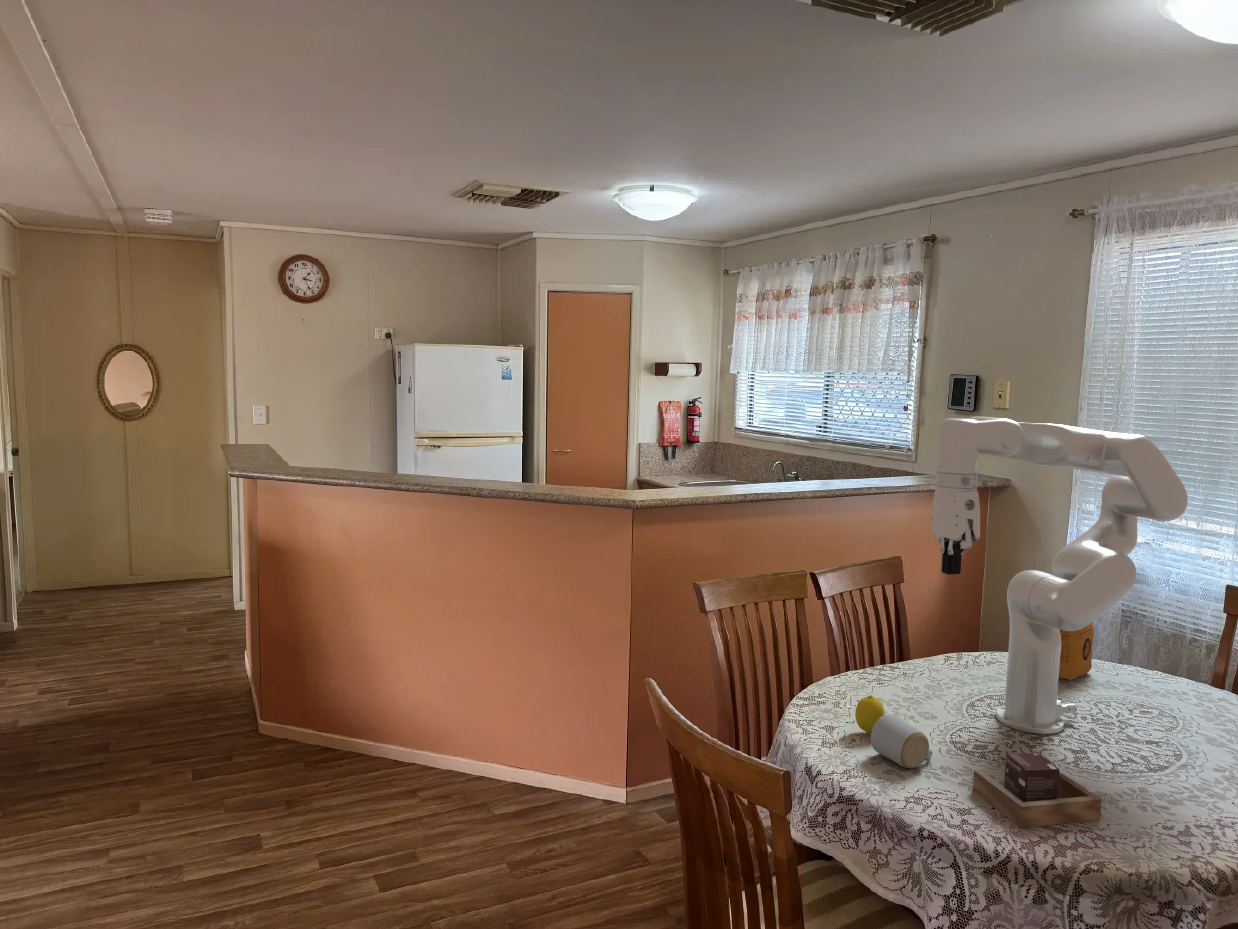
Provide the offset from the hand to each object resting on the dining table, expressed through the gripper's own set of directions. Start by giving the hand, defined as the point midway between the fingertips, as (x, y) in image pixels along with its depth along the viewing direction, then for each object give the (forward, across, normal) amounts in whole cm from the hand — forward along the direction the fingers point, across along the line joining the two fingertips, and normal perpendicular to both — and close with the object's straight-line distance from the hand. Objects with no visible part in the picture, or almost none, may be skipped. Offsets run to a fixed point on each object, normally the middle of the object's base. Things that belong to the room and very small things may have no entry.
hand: (950, 573), depth 165 cm
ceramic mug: (+32, -11, +15) cm, 37 cm away
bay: (+32, -30, +2) cm, 44 cm away
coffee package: (+32, +24, -48) cm, 63 cm away
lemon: (+32, 0, +16) cm, 36 cm away
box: (+32, -29, +2) cm, 44 cm away
